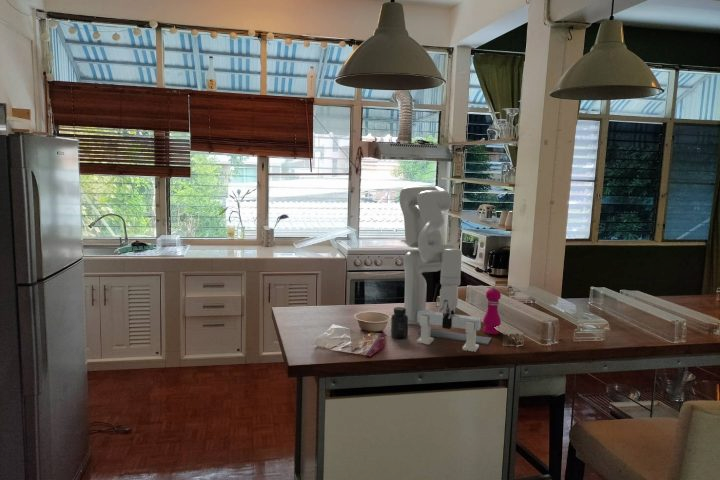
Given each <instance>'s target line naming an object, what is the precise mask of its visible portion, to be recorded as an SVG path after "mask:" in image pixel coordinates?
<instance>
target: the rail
mask: <svg viewBox="0 0 720 480" xmlns="http://www.w3.org/2000/svg"><path fill="white" fill-rule="evenodd" d="M448 315H449V313H448ZM420 316H428V324H431V325H435V326H437V325H438V326H442V323H443V311H442V312H440V311H433V310H427V309H426V310H420V311H418V314H417V322H420ZM450 319H451V328H456V329H462V330H466V322H472V323H474V330H476V332H477V331H478V332H479V331H480V330H481V328H482V327H481V326H482V317H478V316H471V315H463V314H456V313H455V314H451V317H450Z"/></svg>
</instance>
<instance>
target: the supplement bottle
mask: <svg viewBox="0 0 720 480" xmlns="http://www.w3.org/2000/svg"><path fill="white" fill-rule="evenodd" d="M405 313H406V308H404V306H397V307H394V308H393V314H392V315H391V318H390V319H391V320H390V323H391V324H390V337H391V339H394V340H399V341H401V340H402V341H403V340H406V339H408V338H409V324H408V316H407V315H406V314H405Z"/></svg>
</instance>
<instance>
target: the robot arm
mask: <svg viewBox="0 0 720 480" xmlns="http://www.w3.org/2000/svg"><path fill="white" fill-rule="evenodd" d="M452 200H453V199H452V196H451V194H450V193H449V191H447V190H446V189H444V188H442V187H439V186H438V185H436V186H435V185H408V186H405V187H403V188H402V189H401V190H400V192H399V205H400V208H401V212H402V215H403V223H404V224H403V225H404V237H405V238H404V239H405V243H406V246H407V247H409V248H415V249H416V248H417V249H418V250H412V251H408V252H406V253H405V254H404V256H403V268H404V304H403V305H404V306H403V308H406V313H405V314H406V315H407V316H408V325H418V326H420V322H417V314H418V311H420V310H427V309H426V307H427V306H426V305H427V280H426V278H425V276H424V275H423V273H430V272H431V273H435V272H439V271H440V280H439V283H440V285H441V287H440V293H439V294H440V295H439V306H438V309H439V310H440V311H442V313H443V323H442V325H441V327H442V328H443V329H446V330H451V328H452V327H451V319H450V317H451V314H456V308H457V307H458V300H459V286H460V285H461V277H462V276H461V274H462V255H463V254H462V250H461V249H460V248H457V247H455V246H454V245H453V244H443V241H442V240H443V239H442V234H441V231H440V229H441V228H442V227H443V225H444V223H445V219H444V216H443V212H442V211H449V210H450V209H451V207H452V205H453V203H452V202H453V201H452ZM417 206H418V207H417ZM448 313H449V315H448Z"/></svg>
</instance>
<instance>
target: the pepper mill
mask: <svg viewBox="0 0 720 480" xmlns="http://www.w3.org/2000/svg"><path fill="white" fill-rule="evenodd" d="M501 296H502V294H501V292H500V290H498V289H497V287H496V285H494V284H493V285H492V286H491V288H489V289H488V290H487V291H486V292H485V297H486V299H487V300H486V304H487V310H486V313H485V314H484V316H483V320H482V323H483V325H484V327H483V332H484V333H485V334H488V335H498V334H499V333H500V331H499V332H498V331H497V330H496V329H495V328H494V327H496V326H499V325H501V324H502V323H501V317H500V314H499V312H498V311H499V310H498V307H499V304H500V301H499V300H500V299H501ZM499 327H500V326H499Z"/></svg>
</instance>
